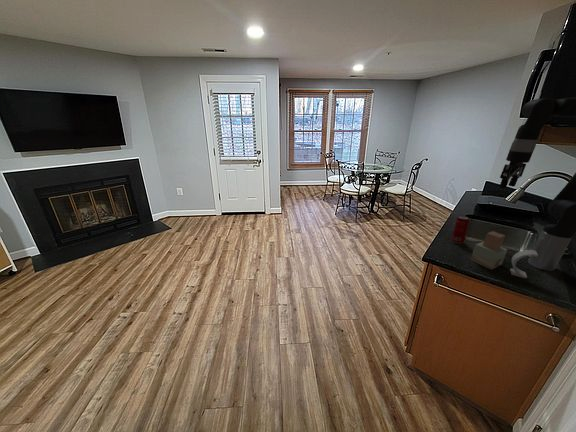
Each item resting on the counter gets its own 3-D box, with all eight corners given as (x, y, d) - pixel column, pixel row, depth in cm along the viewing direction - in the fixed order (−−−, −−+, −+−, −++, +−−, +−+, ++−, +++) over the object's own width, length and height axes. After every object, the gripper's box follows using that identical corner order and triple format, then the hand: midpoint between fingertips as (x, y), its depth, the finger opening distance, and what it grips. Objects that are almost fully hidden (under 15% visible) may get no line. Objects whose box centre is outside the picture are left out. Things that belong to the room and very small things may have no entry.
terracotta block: (487, 243, 114) (492, 231, 112) (500, 247, 110) (505, 235, 108) (482, 245, 112) (487, 233, 110) (494, 250, 108) (499, 237, 105)
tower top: (482, 248, 118) (485, 240, 116) (504, 257, 111) (507, 249, 109) (472, 252, 114) (475, 244, 113) (493, 261, 107) (497, 253, 105)
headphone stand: (526, 278, 103) (538, 255, 98) (508, 273, 106) (519, 250, 101) (524, 273, 106) (535, 250, 101) (507, 268, 109) (517, 246, 105)
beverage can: (465, 244, 130) (474, 220, 125) (452, 243, 131) (460, 218, 126) (460, 239, 136) (468, 215, 130) (448, 238, 137) (455, 214, 131)
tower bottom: (480, 256, 120) (483, 248, 118) (501, 265, 112) (504, 257, 111) (470, 260, 116) (473, 252, 114) (491, 270, 109) (494, 262, 107)
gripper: (524, 152, 94) (509, 190, 100) (540, 150, 100) (524, 187, 107) (502, 149, 100) (489, 186, 107) (518, 148, 106) (504, 183, 113)
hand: (506, 186), depth 107 cm, fingers open, 8 cm apart
